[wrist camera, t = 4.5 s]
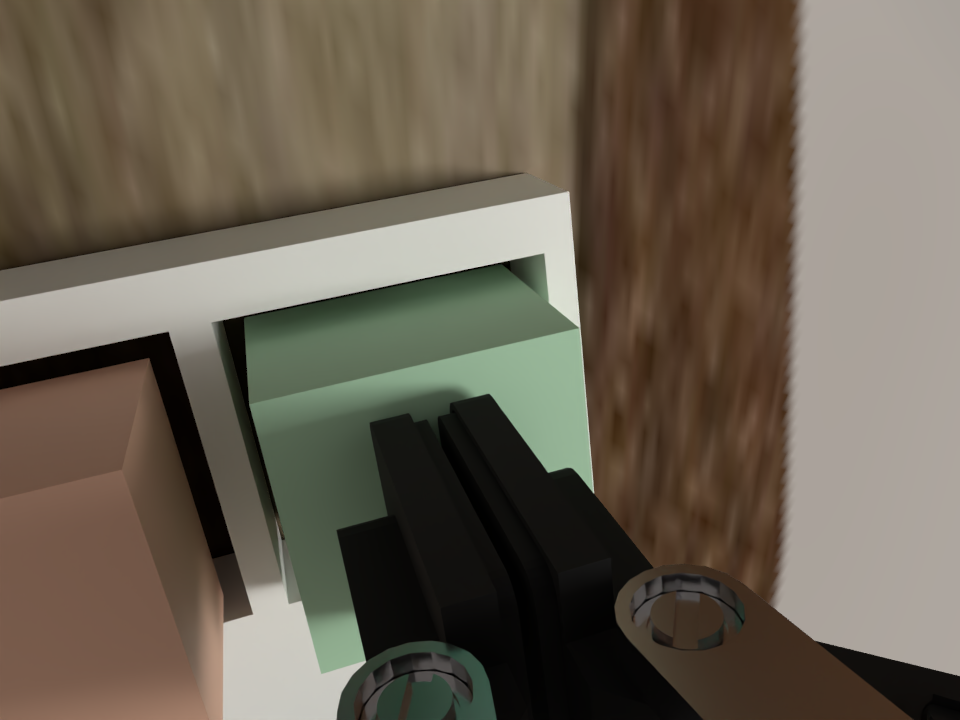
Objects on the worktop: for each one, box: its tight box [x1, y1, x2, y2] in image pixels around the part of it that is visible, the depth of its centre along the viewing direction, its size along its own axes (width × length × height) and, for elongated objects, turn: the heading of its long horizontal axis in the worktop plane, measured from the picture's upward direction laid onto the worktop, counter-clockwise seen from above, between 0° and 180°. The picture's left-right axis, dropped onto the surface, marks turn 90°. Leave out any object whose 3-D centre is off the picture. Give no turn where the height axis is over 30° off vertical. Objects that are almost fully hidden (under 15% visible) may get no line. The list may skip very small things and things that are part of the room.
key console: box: [0, 173, 594, 720], centre depth 15 cm, size 15×12×2 cm
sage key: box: [244, 264, 593, 674], centre depth 13 cm, size 4×4×4 cm
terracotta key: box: [0, 358, 224, 720], centre depth 11 cm, size 4×4×4 cm
